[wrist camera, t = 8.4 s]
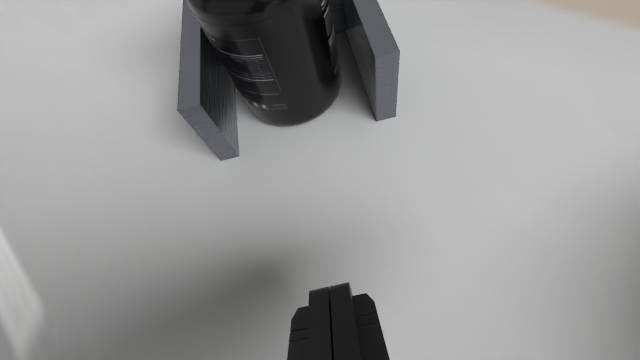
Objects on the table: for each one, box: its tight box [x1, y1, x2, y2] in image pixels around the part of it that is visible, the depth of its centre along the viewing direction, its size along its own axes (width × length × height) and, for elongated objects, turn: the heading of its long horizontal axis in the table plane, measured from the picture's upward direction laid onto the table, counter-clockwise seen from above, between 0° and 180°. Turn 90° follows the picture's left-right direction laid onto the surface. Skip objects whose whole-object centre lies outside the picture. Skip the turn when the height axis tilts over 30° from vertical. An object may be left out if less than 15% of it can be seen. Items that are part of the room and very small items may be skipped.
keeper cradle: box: [177, 0, 400, 161], centre depth 19 cm, size 10×11×9 cm
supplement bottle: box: [186, 0, 342, 126], centre depth 17 cm, size 7×7×12 cm
